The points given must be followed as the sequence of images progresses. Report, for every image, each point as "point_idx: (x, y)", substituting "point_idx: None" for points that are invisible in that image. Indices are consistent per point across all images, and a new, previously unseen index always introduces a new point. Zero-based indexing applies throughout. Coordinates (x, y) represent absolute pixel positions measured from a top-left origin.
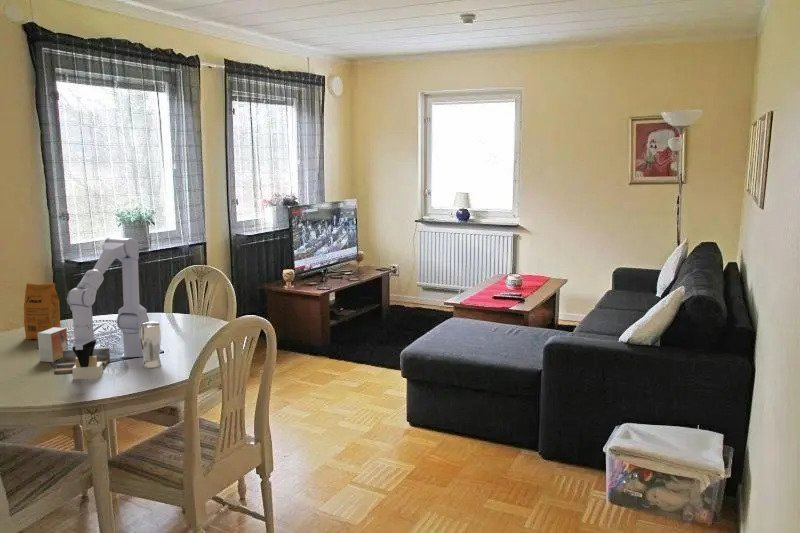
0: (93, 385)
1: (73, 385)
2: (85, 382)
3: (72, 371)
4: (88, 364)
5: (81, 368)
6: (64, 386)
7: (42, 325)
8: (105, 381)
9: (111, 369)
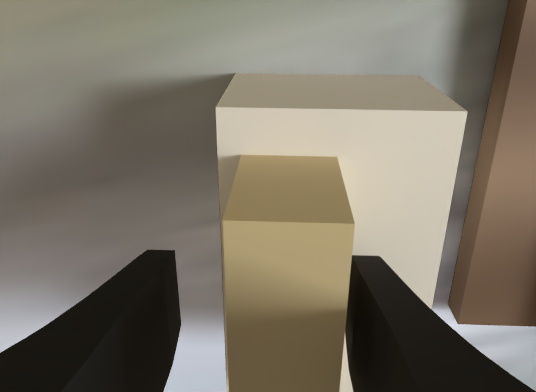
0: (37, 295)
1: (36, 123)
2: (121, 217)
3: (514, 2)
4: (170, 350)
5: (221, 221)
6: (3, 32)
7: None
8: None
9: None
